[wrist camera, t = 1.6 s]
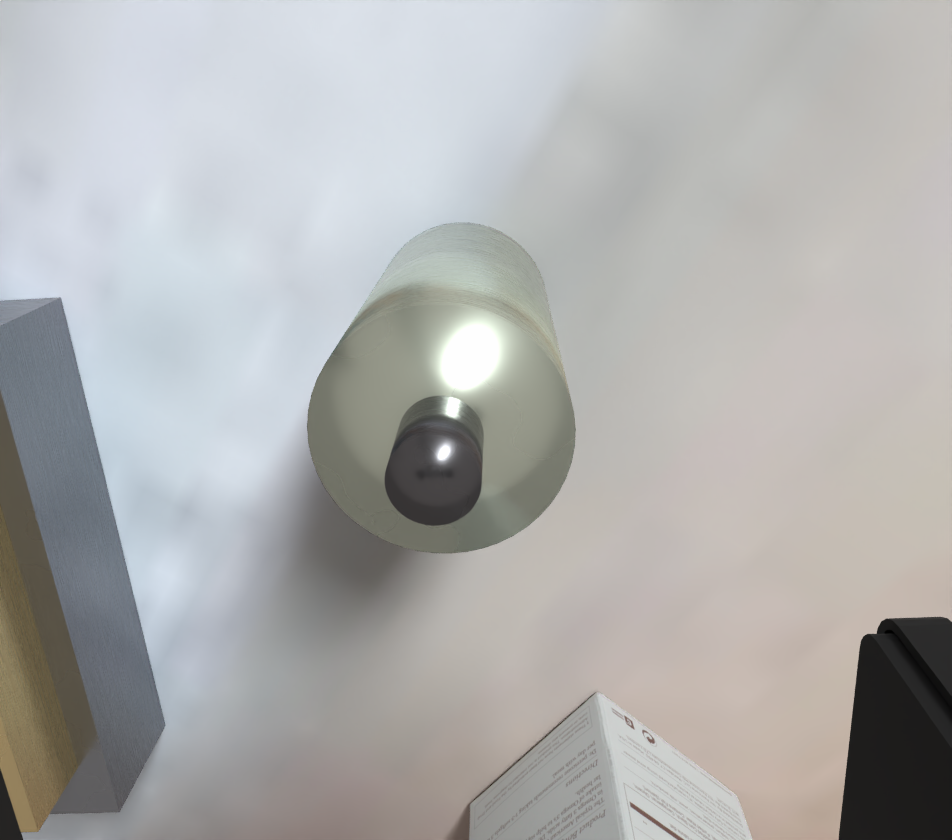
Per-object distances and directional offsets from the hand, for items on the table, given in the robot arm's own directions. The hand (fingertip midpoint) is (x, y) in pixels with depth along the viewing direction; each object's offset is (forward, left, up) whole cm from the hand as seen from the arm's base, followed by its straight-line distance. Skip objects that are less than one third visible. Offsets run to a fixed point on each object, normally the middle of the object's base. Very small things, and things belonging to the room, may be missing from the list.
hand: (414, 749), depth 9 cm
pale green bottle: (-1, 0, -18) cm, 18 cm away
